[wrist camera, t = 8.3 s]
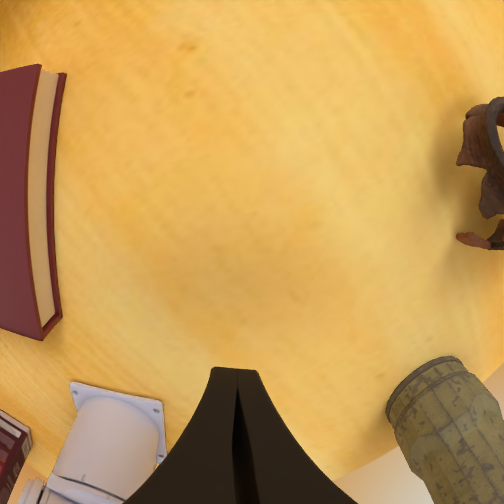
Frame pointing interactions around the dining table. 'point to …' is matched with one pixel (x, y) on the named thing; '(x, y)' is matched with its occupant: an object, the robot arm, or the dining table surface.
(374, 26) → the dining table surface
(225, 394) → the robot arm
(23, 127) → the book
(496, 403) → the thermos
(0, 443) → the supplement box
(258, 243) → the dining table surface
